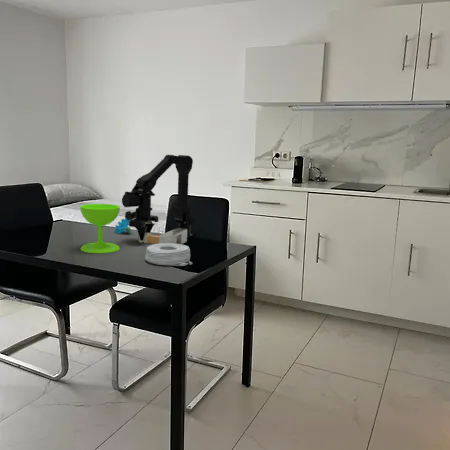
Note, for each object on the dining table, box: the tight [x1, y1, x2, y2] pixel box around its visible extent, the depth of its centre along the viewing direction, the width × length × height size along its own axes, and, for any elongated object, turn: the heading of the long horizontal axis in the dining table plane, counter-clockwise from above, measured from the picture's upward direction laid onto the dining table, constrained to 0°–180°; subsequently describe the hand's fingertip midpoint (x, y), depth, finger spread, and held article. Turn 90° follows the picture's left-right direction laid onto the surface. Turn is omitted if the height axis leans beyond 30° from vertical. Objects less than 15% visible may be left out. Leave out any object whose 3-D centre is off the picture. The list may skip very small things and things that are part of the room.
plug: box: [138, 232, 159, 244], centre depth 206 cm, size 4×13×4 cm, turn 74°
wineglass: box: [79, 203, 121, 254], centre depth 189 cm, size 16×16×18 cm
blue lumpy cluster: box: [114, 217, 133, 235], centre depth 226 cm, size 11×6×10 cm
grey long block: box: [158, 227, 188, 245], centre depth 203 cm, size 20×5×6 cm, turn 163°
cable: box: [144, 243, 193, 267], centre depth 176 cm, size 18×18×6 cm
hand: (143, 239), depth 208 cm, fingers closed on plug, 4 cm apart
